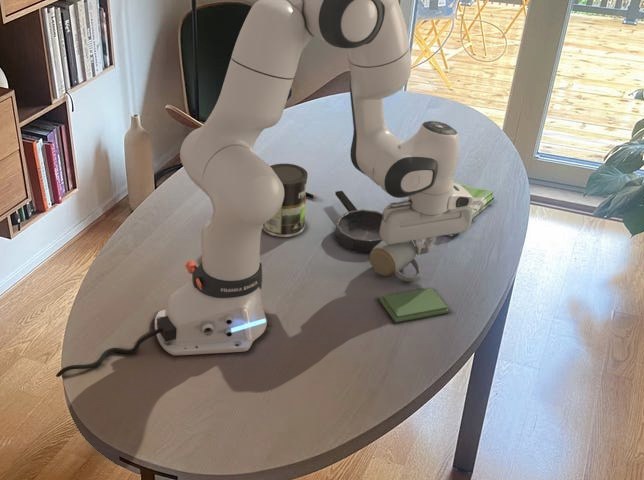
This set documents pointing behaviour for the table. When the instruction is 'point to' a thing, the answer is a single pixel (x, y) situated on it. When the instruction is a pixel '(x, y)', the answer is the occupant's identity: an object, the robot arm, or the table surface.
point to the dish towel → (477, 199)
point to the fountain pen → (310, 195)
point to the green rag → (413, 305)
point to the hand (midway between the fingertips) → (421, 252)
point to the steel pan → (358, 227)
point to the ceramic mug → (394, 259)
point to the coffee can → (289, 202)
